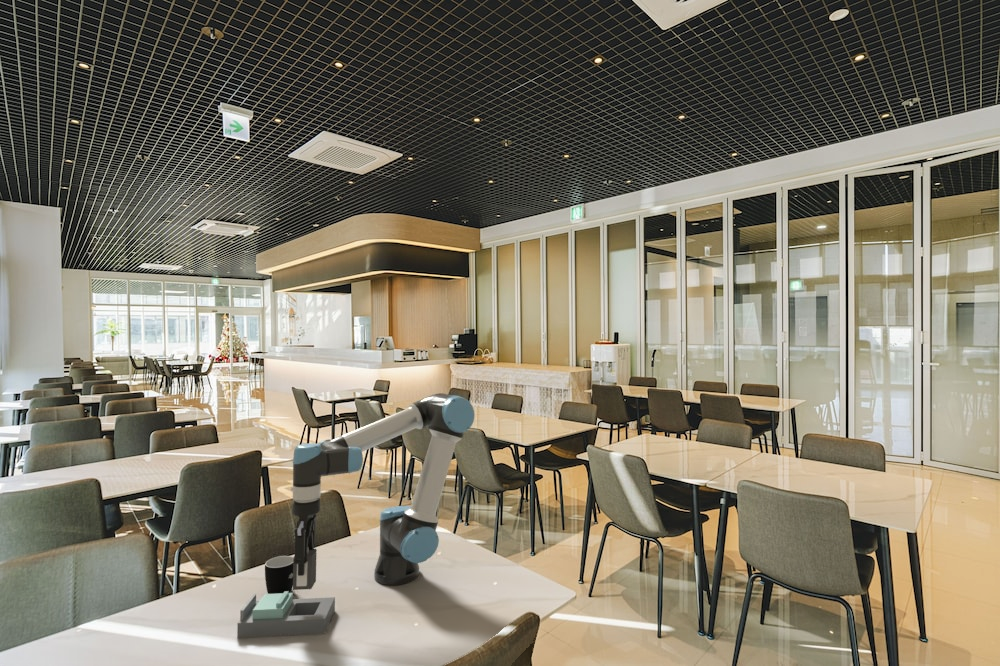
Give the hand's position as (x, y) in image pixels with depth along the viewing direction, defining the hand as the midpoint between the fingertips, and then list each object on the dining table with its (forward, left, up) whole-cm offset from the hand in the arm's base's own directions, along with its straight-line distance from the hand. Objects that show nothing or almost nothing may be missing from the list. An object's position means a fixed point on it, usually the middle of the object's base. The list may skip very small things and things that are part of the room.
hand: (304, 580), depth 143 cm
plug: (0, 0, -1) cm, 1 cm away
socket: (+4, 0, -12) cm, 13 cm away
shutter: (+9, 0, -8) cm, 12 cm away
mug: (+13, -20, -12) cm, 27 cm away
